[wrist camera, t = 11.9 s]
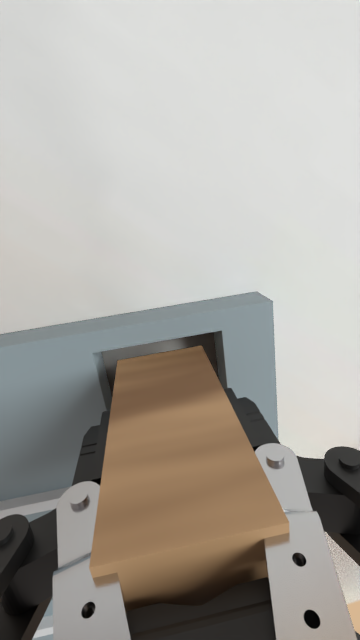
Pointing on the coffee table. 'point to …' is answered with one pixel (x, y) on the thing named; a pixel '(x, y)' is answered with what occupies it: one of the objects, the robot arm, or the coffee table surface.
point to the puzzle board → (108, 389)
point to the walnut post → (179, 486)
